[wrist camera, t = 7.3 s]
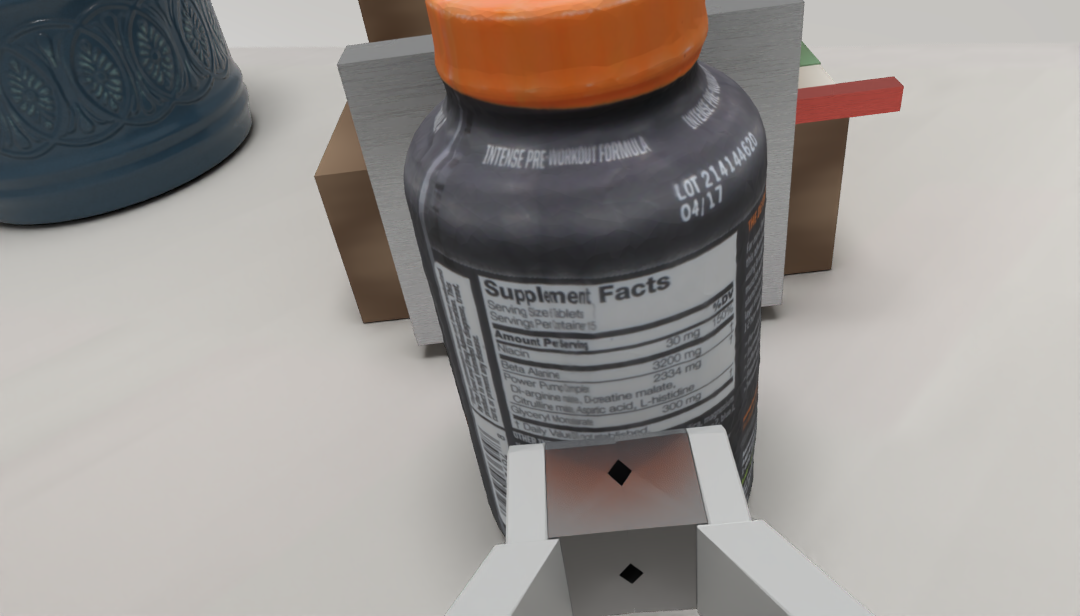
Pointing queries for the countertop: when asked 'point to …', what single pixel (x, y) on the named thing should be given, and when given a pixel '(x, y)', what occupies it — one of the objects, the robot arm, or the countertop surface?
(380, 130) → the brushed metal plate
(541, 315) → the pill bottle
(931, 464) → the countertop surface
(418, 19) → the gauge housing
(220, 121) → the canister
